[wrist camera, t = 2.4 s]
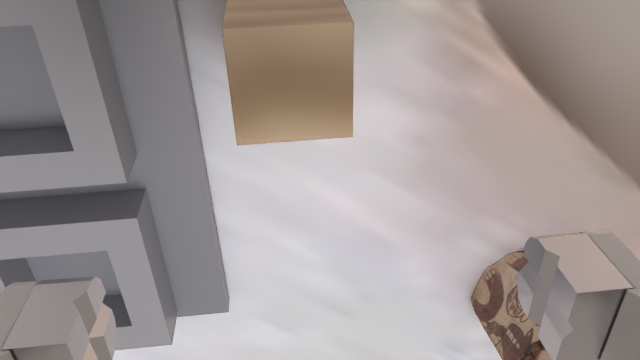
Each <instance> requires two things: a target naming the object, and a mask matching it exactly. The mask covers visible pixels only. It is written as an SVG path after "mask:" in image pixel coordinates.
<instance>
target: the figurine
mask: <svg viewBox="0 0 640 360" xmlns="http://www.w3.org/2000/svg"><path fill="white" fill-rule="evenodd" d="M523 253H524V252H514V253H510V254H507V255H506V256H504V257H503V258H502V259H501V260H499V261H498V262H496V263H495V264H493V265H491V266H490V267H488V268H487V269H486V270H484V272H483V275H482V277H481V279H480V281H479V282H478V283H477V287H476V289H475V291H474V292H473V297H472V303H473V307H474V310H475V313H476V315H477V316H478V318H479V320H480V322H481V324H482V326H483V328H484V329H485V331H486V332H487V334H488V336H489V338H490V339H491V341H492V342H493V344H494V346H495V347H496V349H497V351H498V353H499V354H500V356H501V358H502V360H552V359H551V358H550V356H549V354H548V353H547V351H546V349H545V347H544V346H543V344H542V342H541V341H540V339H539V337H538V334H539V330H540V326H539V325H538V324H536V323H535V322H533V321H531V320H530V319H528V318H527V316H526V314H525V313H524V311H523V309H522V307H521V304H520V301H519V298H518V289H517V281H518V276H519V271H520V270H521V269H522V268H523V267H524V266H525V265H526V264H527V263H528V260H527V258H526V257H525V255H524V254H523Z"/></svg>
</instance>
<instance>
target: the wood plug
mask: <svg viewBox="0 0 640 360" xmlns="http://www.w3.org/2000/svg"><path fill="white" fill-rule="evenodd" d="M222 35H223V43H224V50H225V58H226V65H227V73H228V80H229V88H230V95H231V103H232V111H233V118H234V126H235V133H236V141H237V145H248V144H262V143H275V142H289V141H302V140H316V139H329V138H343V137H353V42H354V22H353V20H352V18H351V16H350V14H349V12H348V10H347V8H346V6H345V4H344V2H343V0H227V2H226V8H225V14H224V20H223V25H222Z"/></svg>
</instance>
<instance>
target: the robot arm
mask: <svg viewBox="0 0 640 360" xmlns="http://www.w3.org/2000/svg"><path fill="white" fill-rule="evenodd" d="M523 254H524V255H525V257H526V258H527V260H528V263H527V264H526V265H525V266H524V267H523V268H522V269H521V270H520V271H519V276H518V281H517V289H518V298H519V301H520V304H521V307H522V309H523V311H524V313H525V314H526V316H527V318H528V319H530V320H531V321H533V322H535V323H536V324H538V325H539V326H540V330H539V334H538V337H539V339H540V341H541V342H542V344H543V346H544V347H545V349H546V351H547V353H548V354H549V356H550V358H551V359H552V360H640V261H639V260H638V259H637V257H636V256H635V255H634V254H633V253H632V252H631V251H630V250H629V249H628V248H627V247H626V246H625V245H624V244H623V242H622V241H621V240H620V239H619V238H618V237H617V236H616V235H615V234H614V233H613V232H611V231H609V230H607V229H603V230H594V231H585V232H580V233H570V234H560V235H550V236H539V237H530V238H529V240H528V241H527V243H526V245H525V249H524V253H523ZM105 293H106V291H105V289H104V286H103V284H102V281H101V279H100V278H98V277H81V278H66V279H52V280H41V281H30V282H15V283H11V284H10V285H8V286H7V287H6V288H5V289H4V290H3V292H2V294H1V296H0V360H112V359H113V355H114V351H115V347H116V333H117V330H116V323H115V318H114V315H113V311H112V309H110V308H109V307H108V306H106V305H105V304H103V303H102V302H103V299H104V296H105Z"/></svg>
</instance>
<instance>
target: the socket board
mask: <svg viewBox="0 0 640 360" xmlns="http://www.w3.org/2000/svg"><path fill="white" fill-rule="evenodd" d="M81 277H98V278H100V279H101V281H102V284H103V286H104V289H105V291H106V293H105V296H104V299H103V302H102V303H103V304H105V305H106V306H108V307H109V308H110V309H112V311H113V315H114V318H115V323H116V330H117V333H116V347H115V350H123V349H133V348H143V347H153V346H163V345H172V341H173V335H174V329H175V323H176V317H182V316H193V315H203V314H213V313H224V312H229V296H228V290H227V284H226V279H225V273H224V267H223V262H222V256H221V250H220V244H219V239H218V233H217V227H216V221H215V216H214V210H213V204H212V199H211V193H210V187H209V181H208V176H207V170H206V164H205V158H204V153H203V147H202V141H201V136H200V130H199V124H198V118H197V113H196V107H195V101H194V95H193V90H192V84H191V78H190V73H189V67H188V61H187V55H186V50H185V44H184V38H183V33H182V27H181V21H180V15H179V10H178V4H177V0H0V296H1V294H2V292H3V290H4V289H5V288H6V287H7V286H8V285H10V284H11V283H15V282H30V281H41V280H52V279H66V278H81Z"/></svg>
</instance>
